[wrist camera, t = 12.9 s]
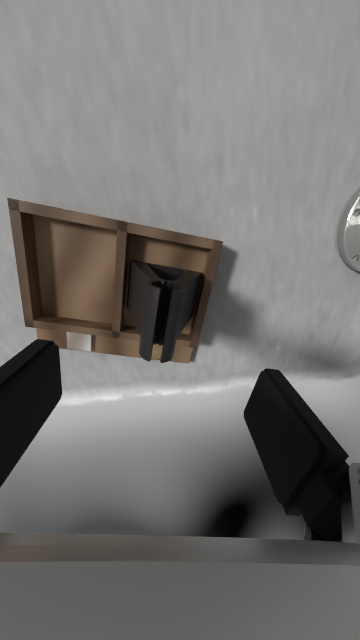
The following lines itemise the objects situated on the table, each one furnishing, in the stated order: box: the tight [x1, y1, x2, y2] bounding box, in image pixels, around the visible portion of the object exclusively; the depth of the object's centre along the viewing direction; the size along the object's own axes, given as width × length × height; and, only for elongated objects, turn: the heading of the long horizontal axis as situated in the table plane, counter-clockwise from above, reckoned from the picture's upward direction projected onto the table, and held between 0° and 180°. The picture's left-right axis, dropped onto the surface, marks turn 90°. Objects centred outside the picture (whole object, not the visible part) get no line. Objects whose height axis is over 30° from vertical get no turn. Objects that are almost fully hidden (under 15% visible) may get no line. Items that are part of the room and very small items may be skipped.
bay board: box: [7, 198, 223, 363], centre depth 25 cm, size 22×18×3 cm
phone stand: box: [127, 260, 202, 363], centre depth 20 cm, size 9×6×12 cm, turn 79°
